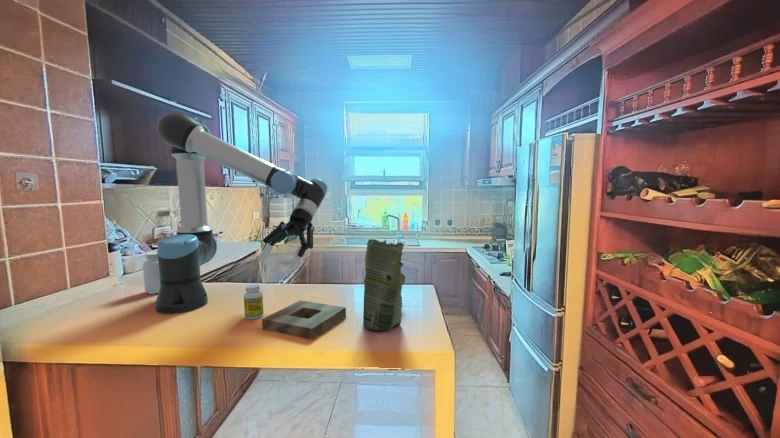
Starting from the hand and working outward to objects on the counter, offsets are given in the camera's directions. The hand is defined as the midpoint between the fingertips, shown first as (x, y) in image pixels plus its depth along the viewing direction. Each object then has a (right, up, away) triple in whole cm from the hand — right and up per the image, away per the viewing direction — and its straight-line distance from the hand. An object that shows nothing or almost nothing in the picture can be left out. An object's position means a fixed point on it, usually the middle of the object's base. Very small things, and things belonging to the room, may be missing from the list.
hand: (276, 262), depth 115 cm
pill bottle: (-52, -14, +18) cm, 56 cm away
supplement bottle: (-4, -16, -8) cm, 18 cm away
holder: (+13, -16, -14) cm, 25 cm away
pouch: (+36, -16, -16) cm, 43 cm away
